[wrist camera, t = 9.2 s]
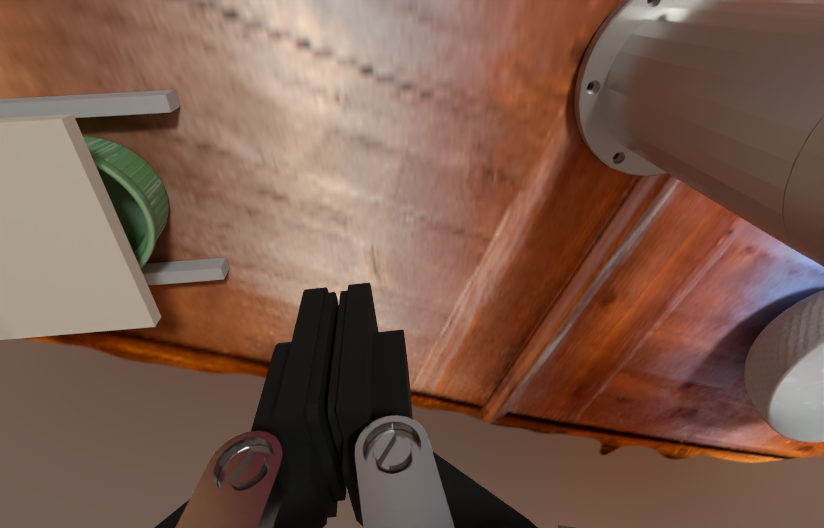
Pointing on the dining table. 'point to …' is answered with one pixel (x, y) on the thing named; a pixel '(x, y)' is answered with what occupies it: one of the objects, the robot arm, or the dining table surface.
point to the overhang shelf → (72, 224)
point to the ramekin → (132, 194)
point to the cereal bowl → (790, 371)
